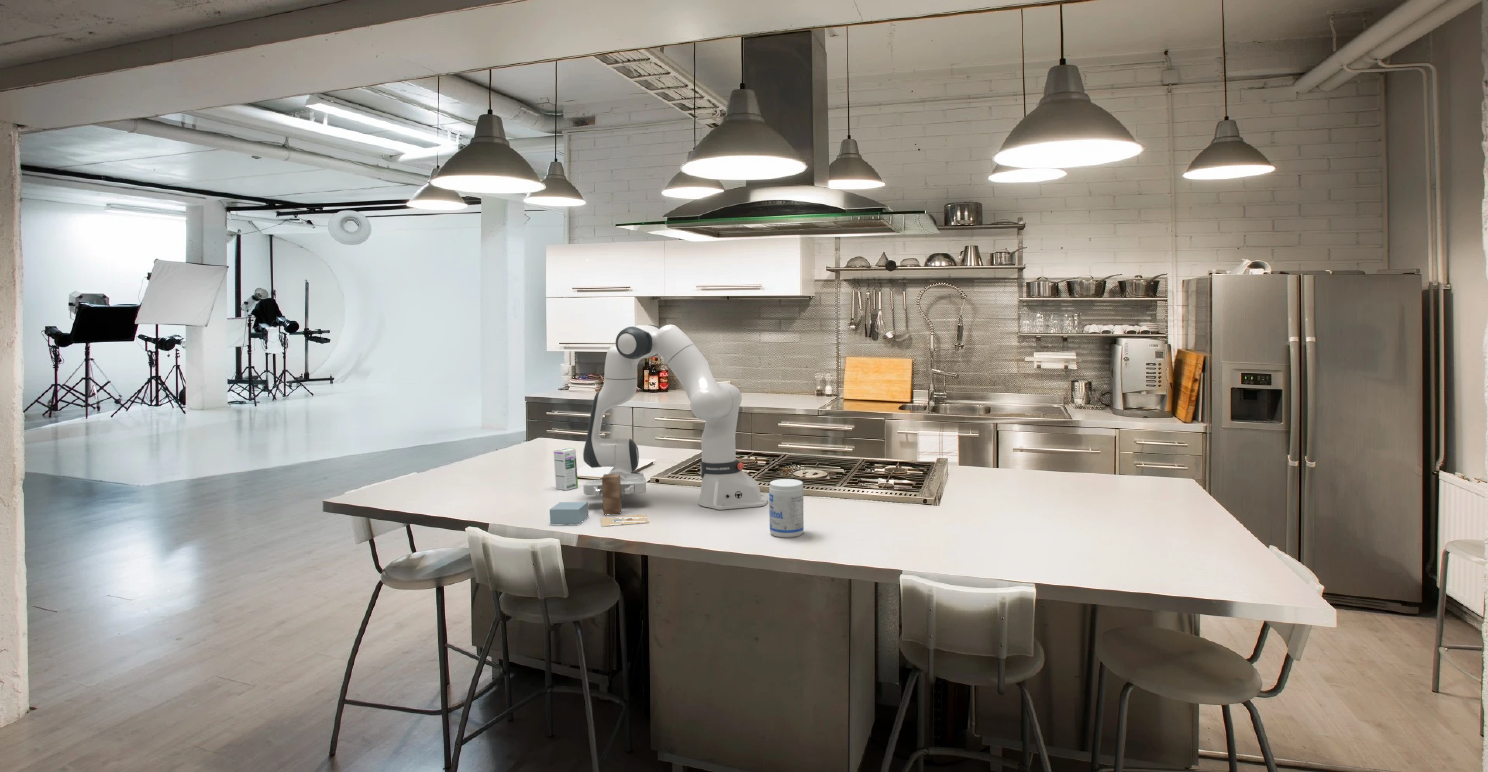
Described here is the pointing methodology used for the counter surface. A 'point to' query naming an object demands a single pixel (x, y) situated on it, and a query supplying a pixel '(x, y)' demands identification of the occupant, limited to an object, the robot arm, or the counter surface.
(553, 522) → the brick
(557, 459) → the syrup box
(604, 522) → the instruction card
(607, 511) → the block
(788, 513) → the supplement tub
